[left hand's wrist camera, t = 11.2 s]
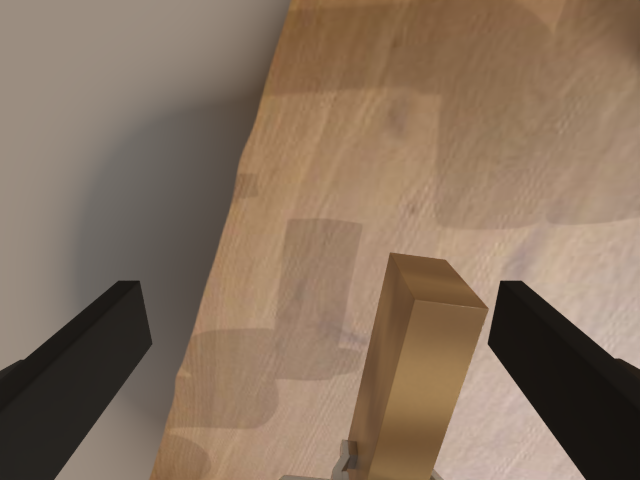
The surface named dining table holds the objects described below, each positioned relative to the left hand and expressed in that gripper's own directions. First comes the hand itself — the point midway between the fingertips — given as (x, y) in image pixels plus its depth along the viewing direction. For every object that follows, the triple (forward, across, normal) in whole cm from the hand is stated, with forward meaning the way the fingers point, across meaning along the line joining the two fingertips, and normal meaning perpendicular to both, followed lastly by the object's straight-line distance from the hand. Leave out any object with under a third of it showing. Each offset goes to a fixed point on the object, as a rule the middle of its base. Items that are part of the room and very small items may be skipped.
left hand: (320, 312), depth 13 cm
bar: (+17, +7, -16) cm, 24 cm away
